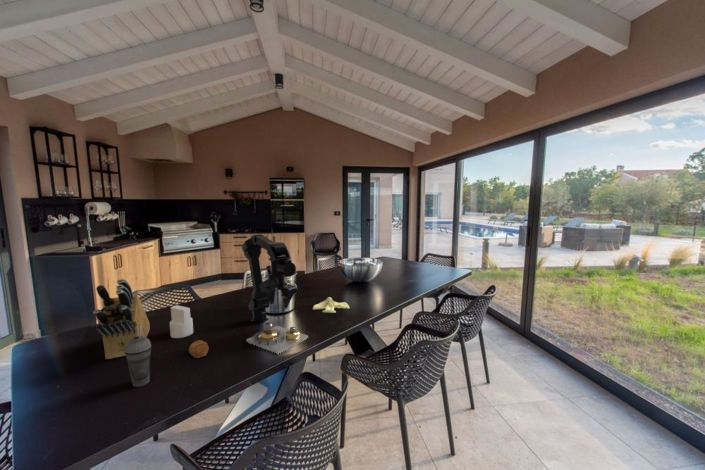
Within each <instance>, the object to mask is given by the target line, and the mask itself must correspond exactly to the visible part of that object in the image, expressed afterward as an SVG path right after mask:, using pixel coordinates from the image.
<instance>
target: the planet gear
mask: <svg viewBox="0 0 705 470" xmlns="http://www.w3.org/2000/svg"><path fill="white" fill-rule="evenodd" d="M272 328H273V323H272V322H266V323H264V330H265V331H263V330H261V331H262V332H261V333H260V339H262V340H270V339H275V338H277V331H276V330H272Z"/></svg>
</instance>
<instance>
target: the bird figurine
mask: <svg viewBox="0 0 705 470" xmlns="http://www.w3.org/2000/svg"><path fill="white" fill-rule="evenodd" d="M335 308H337V309H350V306H349V304H348V303H347V302H344V301H343V302H337V301H334V300H333V298H332V297H330V296H329V297H326V299H325V300H323V301H321V302H319V303H318V304H316V303H315V304H314V305H313V307H312V310H322V313H329V314H330V313H333V314H334V313H337V311H336V310H335Z"/></svg>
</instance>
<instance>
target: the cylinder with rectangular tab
mask: <svg viewBox="0 0 705 470" xmlns="http://www.w3.org/2000/svg"><path fill="white" fill-rule="evenodd" d="M170 314H171V315H170V317H171V320H170V321H169V335H170V337H171V338H172V339H181V338H185V337H189V336H191V335H193V333H194V323H193V322H194V321H193V320H194V319H193V317H191V308H190V307H187V306H182V305H179V304H177V305H173V306H171V307H170Z"/></svg>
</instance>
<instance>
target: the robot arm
mask: <svg viewBox="0 0 705 470" xmlns="http://www.w3.org/2000/svg"><path fill="white" fill-rule="evenodd" d="M241 246H242V247H241V248H242V249H241V250H242V252H243V255H244V256H245V258H246V259H247V260H248V263H249V264H248V266H249V270H250V275H251V276H250V277H251V283H252V288H253V290H252V291H251V294H250V301H249V302H248V305H247V307H248V310H250V311H251V312H252V319H250V320H249V321H250V322H252V323H254V324H257V325H258V324H261V323H264V322H267V321H269V318H268V317H267V311H266V309H268V308H270V305H274V302H275V296H276V291H280V292H281V294H280V296H281V297H282V299H283V306H284V307H283V308H284V309H285V310H286V309H288V307H289V304H290V302H291V300H292V299H293V296H295V295H296V294H297V293H298V287H297V286H295V285H292V284H289V285H288V283H287V282H286V279H285V278H286V277H292V276H293V275H294V274H295V273H296V271H297V267H296V265H295V263H293V262H292V261H293V260H292V257H291V253H290V251H289V250H288V248H287V245H286V244H285V243H284V242H279V241H273V240H271V239H269V238H268V237H266V236H264V235H263V234H253V235H251V237H250V238H248V239H246V240H245V241H244V242H243V244H242V245H241ZM262 249H263V250H265V251H266V254H267V255H268V256H269V258H268V261H270V274H268V278H267V279H265V280H264V281H263V277H262V270H261V269H262V268H261V264H260V256H261V254H262Z"/></svg>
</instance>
